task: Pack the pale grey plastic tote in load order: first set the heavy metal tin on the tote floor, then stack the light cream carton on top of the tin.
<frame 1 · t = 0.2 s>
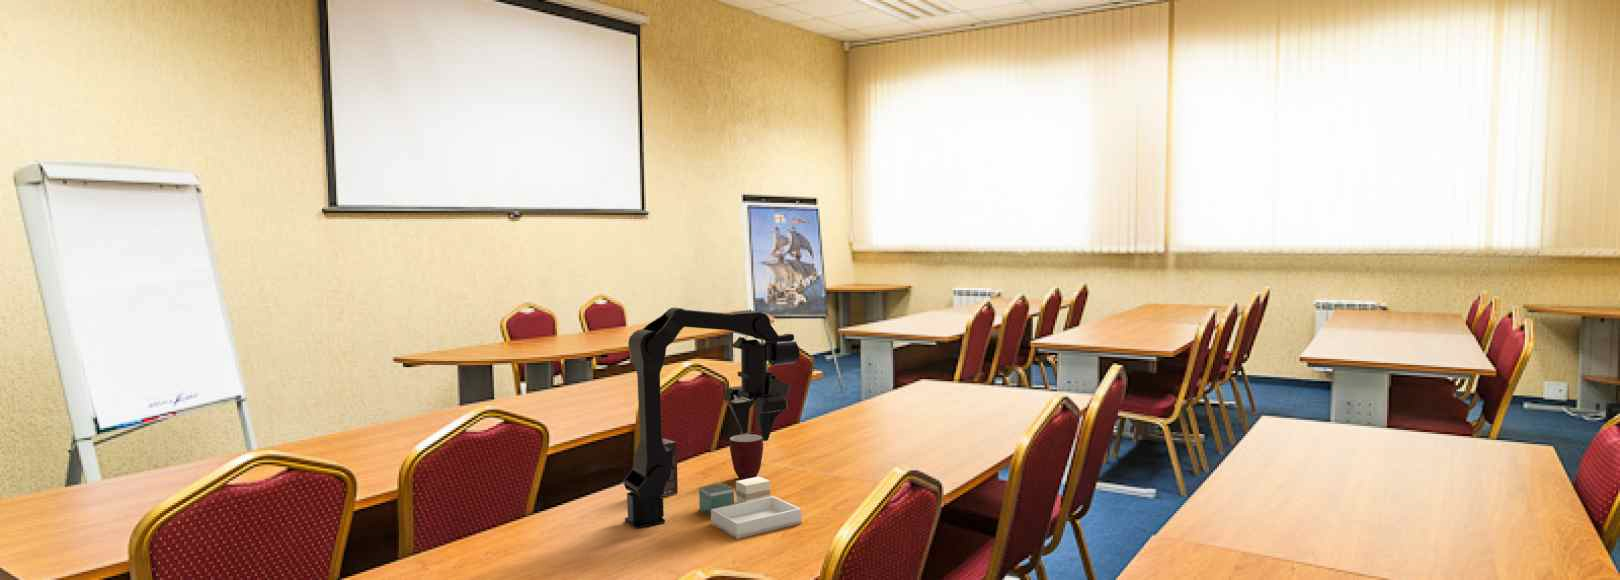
hand: (755, 436, 197), 14 cm above the table, fingers open, 9 cm apart
tote: (756, 523, 181), on the table
box: (664, 493, 204), on the table
carton: (753, 503, 195), on the table
tin: (717, 511, 190), on the table
mug: (746, 480, 213), on the table
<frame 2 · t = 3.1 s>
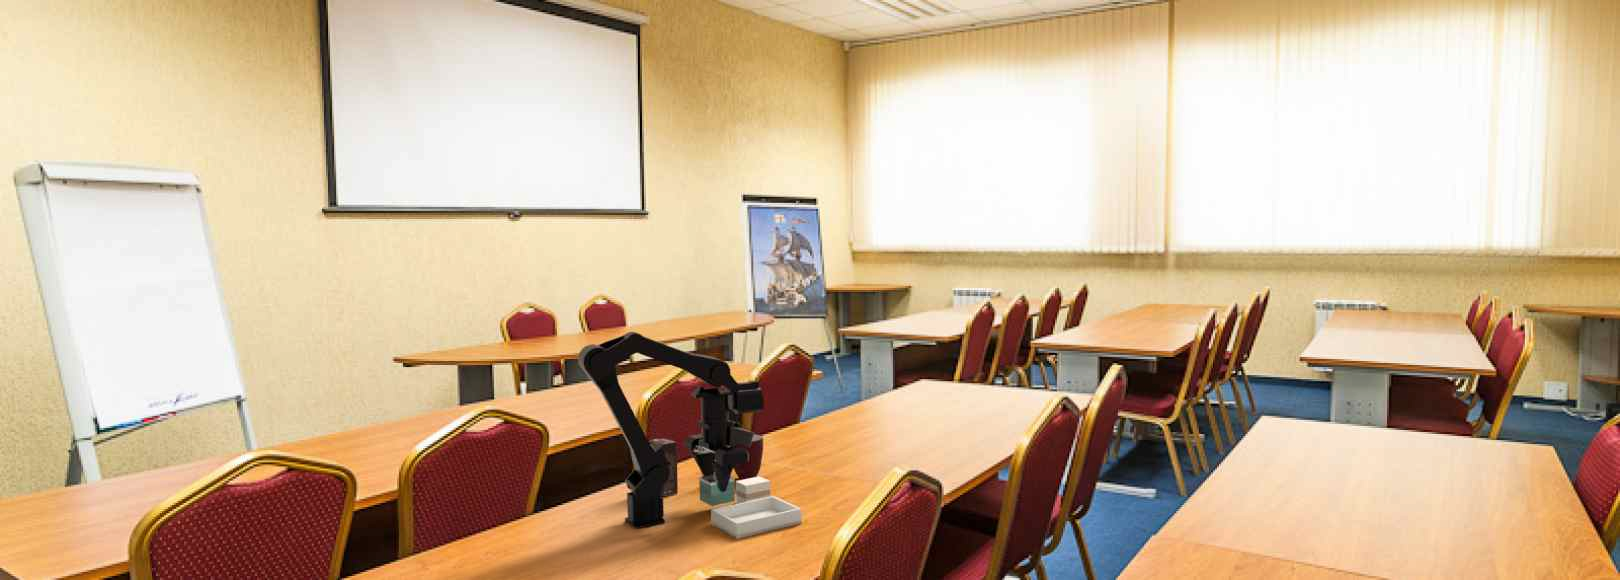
hand: (716, 488, 189), 5 cm above the table, fingers closed on tin, 6 cm apart
tin: (717, 500, 190), point 2 cm above the table, touching gripper
everything else where it was.
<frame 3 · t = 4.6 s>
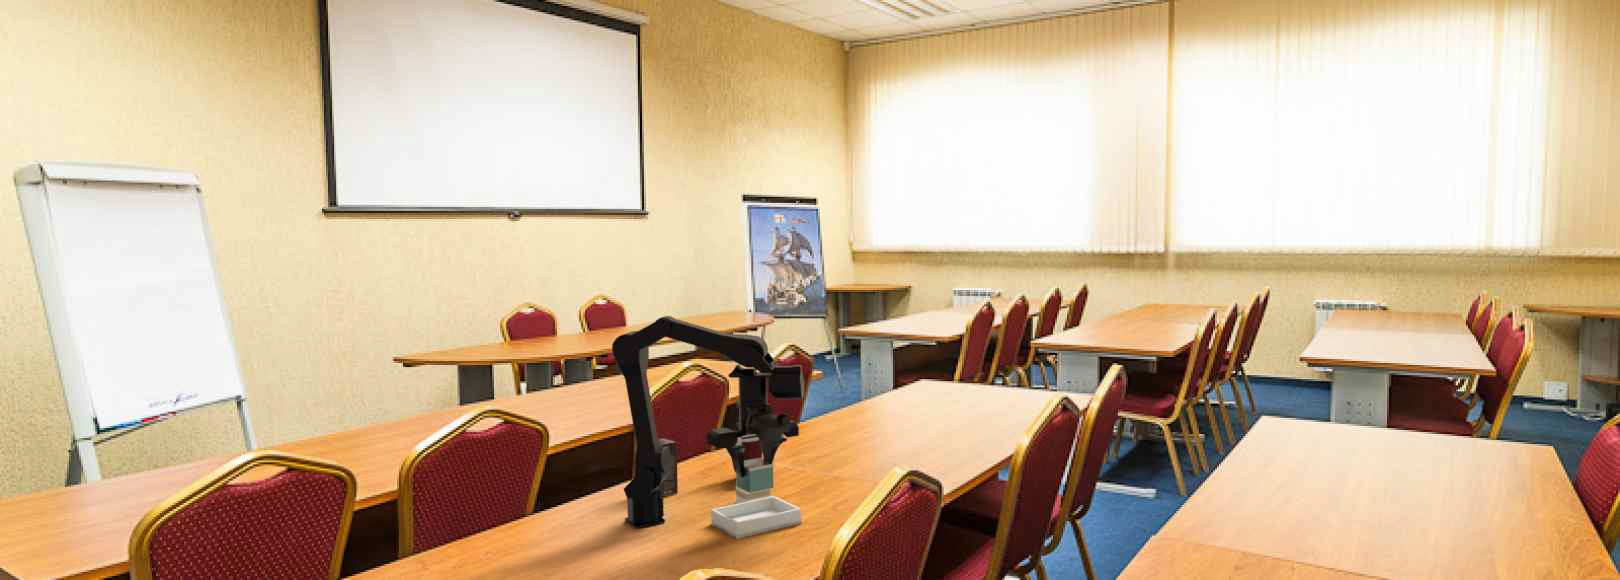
hand: (754, 474, 180), 10 cm above the table, fingers closed on tin, 6 cm apart
tin: (755, 487, 180), point 8 cm above the table, touching gripper
everything else where it was.
when the fingers open (3 cm above the table, at t = 6.1 s): tin stays where it is, resting on tote.
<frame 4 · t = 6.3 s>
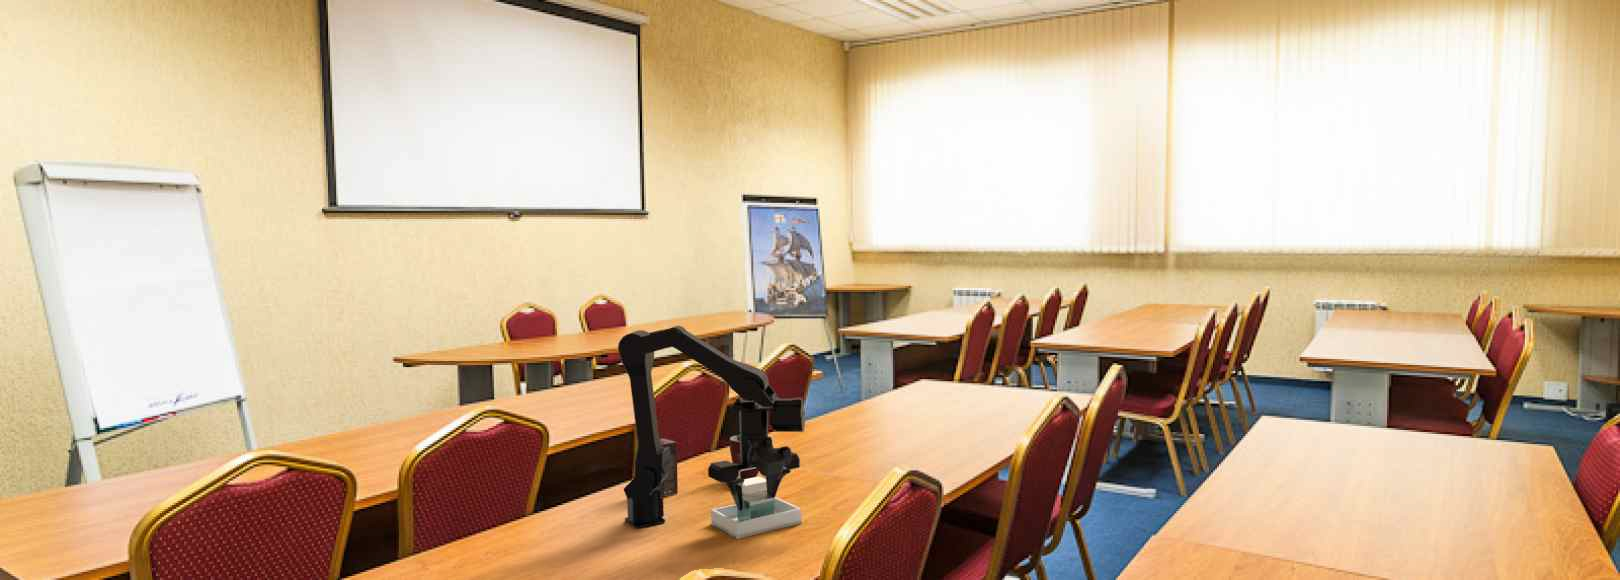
hand: (755, 506, 180), 3 cm above the table, fingers open, 7 cm apart
tin: (755, 520, 181), point 1 cm above the table, touching tote
everything else where it was.
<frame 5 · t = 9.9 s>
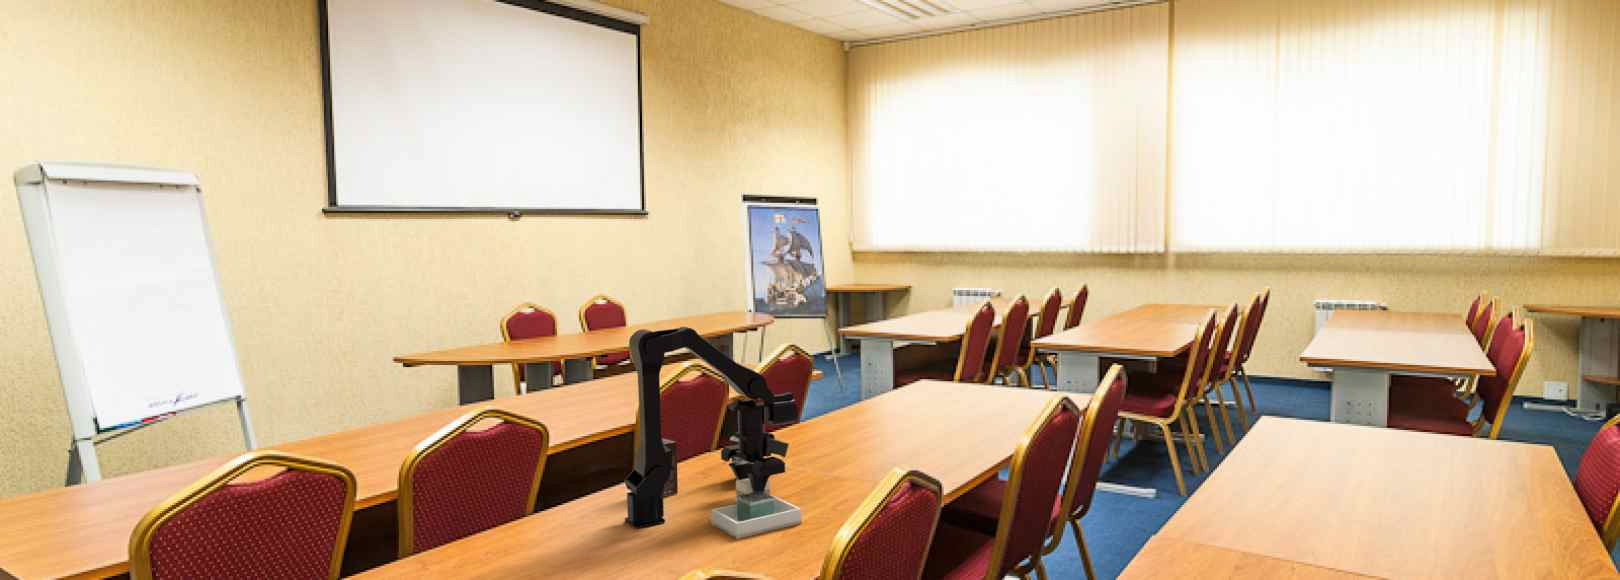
hand: (753, 498, 195), 1 cm above the table, fingers closed on carton, 4 cm apart
carton: (753, 502, 195), on the table, touching gripper
everything else where it was.
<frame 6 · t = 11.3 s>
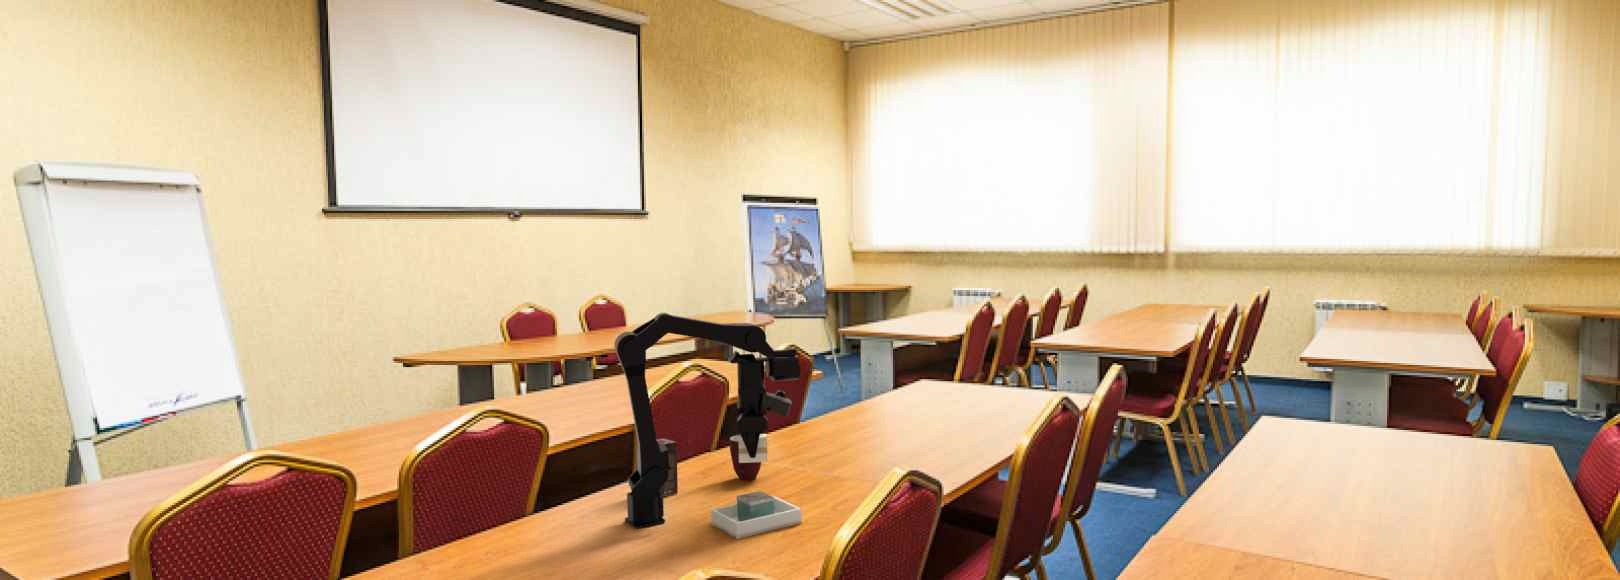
hand: (752, 454, 189), 12 cm above the table, fingers closed on carton, 4 cm apart
carton: (753, 459, 189), point 11 cm above the table, touching gripper
everything else where it was.
when the fingers open (8 cm above the table, at t = 12.9 s): carton drops 1 cm, resting on tin.
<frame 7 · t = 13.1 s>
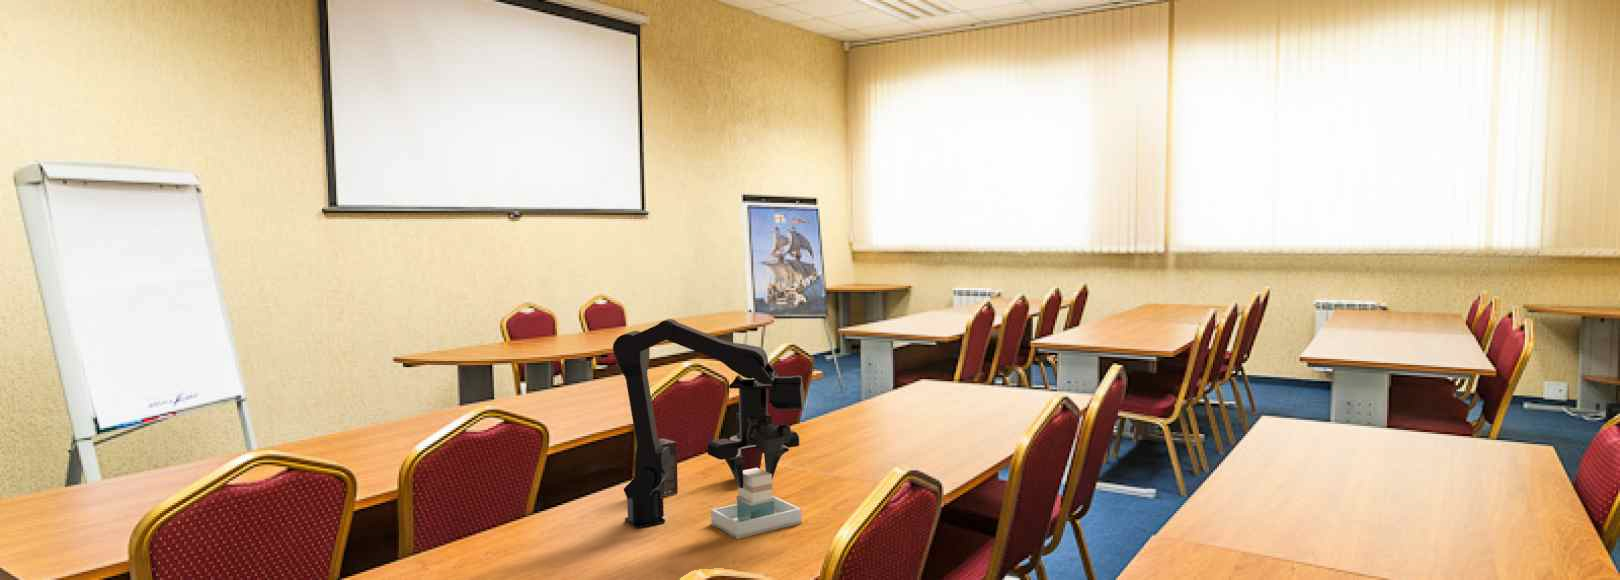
hand: (755, 485, 180), 8 cm above the table, fingers open, 6 cm apart
carton: (755, 496, 180), point 6 cm above the table, touching tin
tin: (755, 520, 181), point 1 cm above the table, touching carton, tote
everything else where it was.
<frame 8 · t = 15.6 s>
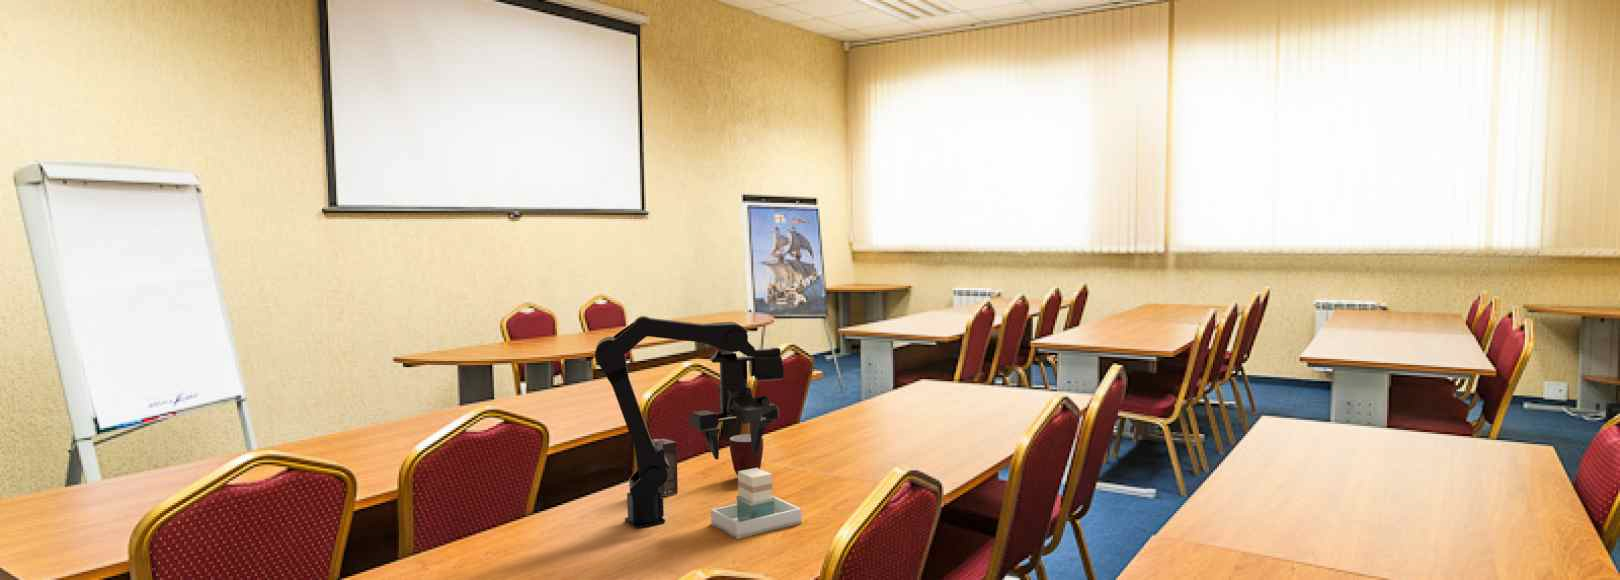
hand: (735, 455, 186), 12 cm above the table, fingers open, 9 cm apart
nothing on the table moved.
at the end: tin inside the target area on the tote (0.1 cm from its centre), point 0.6 cm above the tote's base; carton 0.0 cm off-centre on the tin, point 5.0 cm above the tin's base; carton tilted 0° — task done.
